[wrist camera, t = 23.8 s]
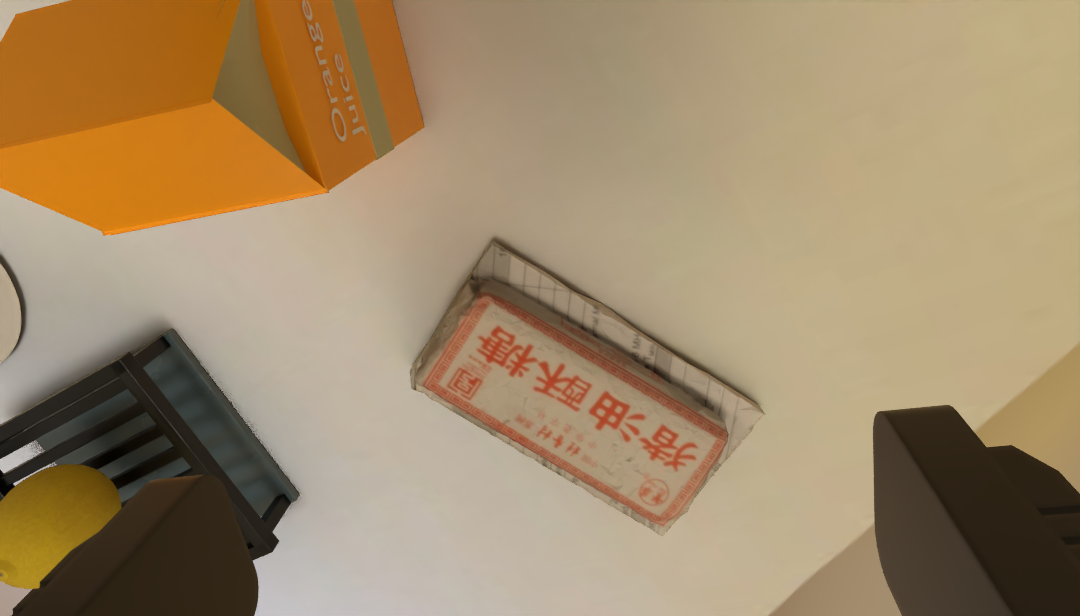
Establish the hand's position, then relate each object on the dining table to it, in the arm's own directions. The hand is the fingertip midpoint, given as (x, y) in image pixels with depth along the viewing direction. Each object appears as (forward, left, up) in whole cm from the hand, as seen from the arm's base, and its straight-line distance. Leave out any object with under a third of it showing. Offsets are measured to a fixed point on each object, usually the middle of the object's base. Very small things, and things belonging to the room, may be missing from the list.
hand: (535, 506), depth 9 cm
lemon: (+4, -34, -28) cm, 44 cm away
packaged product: (+13, -8, -32) cm, 36 cm away
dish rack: (+5, -34, -32) cm, 47 cm away
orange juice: (-9, -11, -32) cm, 35 cm away
